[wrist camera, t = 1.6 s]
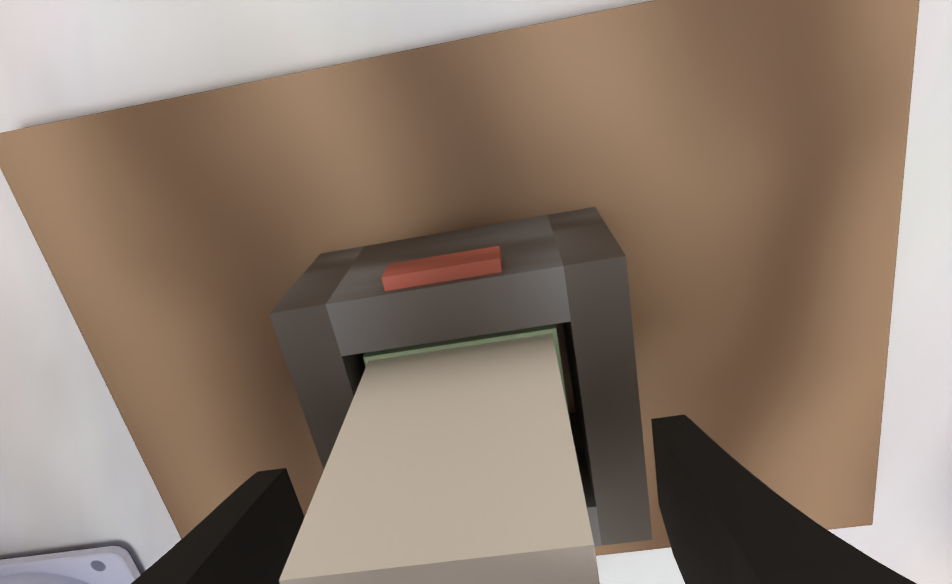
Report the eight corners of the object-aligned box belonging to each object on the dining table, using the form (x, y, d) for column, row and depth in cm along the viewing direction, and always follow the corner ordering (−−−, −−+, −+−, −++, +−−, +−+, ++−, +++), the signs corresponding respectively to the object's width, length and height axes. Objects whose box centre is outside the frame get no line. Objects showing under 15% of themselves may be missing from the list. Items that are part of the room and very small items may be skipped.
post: (422, 426, 17) (354, 776, 9) (388, 297, 16) (269, 575, 7) (564, 407, 17) (631, 754, 9) (544, 272, 15) (602, 537, 7)
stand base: (225, 570, 22) (151, 712, 17) (21, 129, 16) (-179, 163, 11) (850, 497, 19) (961, 637, 15) (889, -46, 13) (1094, -96, 9)
